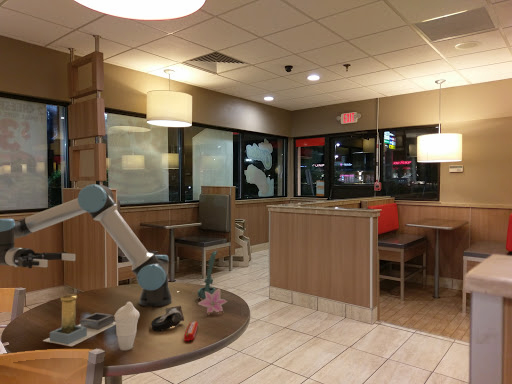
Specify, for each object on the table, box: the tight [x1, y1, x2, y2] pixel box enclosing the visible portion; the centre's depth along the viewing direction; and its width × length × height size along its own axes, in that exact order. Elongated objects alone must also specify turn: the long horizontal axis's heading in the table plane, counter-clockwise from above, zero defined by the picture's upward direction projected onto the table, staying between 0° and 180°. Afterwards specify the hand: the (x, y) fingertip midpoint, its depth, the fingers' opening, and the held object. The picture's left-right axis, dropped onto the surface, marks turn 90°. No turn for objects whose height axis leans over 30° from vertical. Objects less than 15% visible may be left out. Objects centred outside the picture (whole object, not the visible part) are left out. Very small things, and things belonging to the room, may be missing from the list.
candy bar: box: [183, 320, 199, 342], centre depth 138 cm, size 16×4×3 cm, turn 2°
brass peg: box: [60, 293, 78, 334], centre depth 130 cm, size 5×5×15 cm
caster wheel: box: [150, 305, 185, 332], centre depth 144 cm, size 7×11×10 cm
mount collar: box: [80, 312, 114, 330], centre depth 143 cm, size 8×8×3 cm
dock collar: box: [49, 324, 87, 344], centre depth 130 cm, size 8×8×3 cm
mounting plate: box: [42, 321, 116, 347], centre depth 137 cm, size 24×13×1 cm, turn 162°
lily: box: [197, 287, 228, 313], centre depth 164 cm, size 12×12×10 cm
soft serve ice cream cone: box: [113, 301, 141, 351], centre depth 125 cm, size 8×8×16 cm
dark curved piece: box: [197, 250, 218, 299], centre depth 182 cm, size 14×10×25 cm
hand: (61, 260), depth 144 cm, fingers open, 13 cm apart
